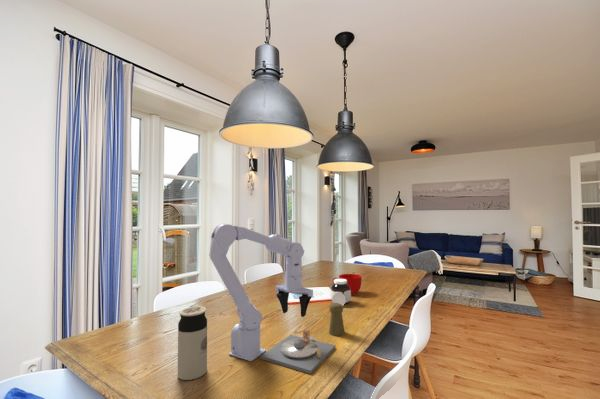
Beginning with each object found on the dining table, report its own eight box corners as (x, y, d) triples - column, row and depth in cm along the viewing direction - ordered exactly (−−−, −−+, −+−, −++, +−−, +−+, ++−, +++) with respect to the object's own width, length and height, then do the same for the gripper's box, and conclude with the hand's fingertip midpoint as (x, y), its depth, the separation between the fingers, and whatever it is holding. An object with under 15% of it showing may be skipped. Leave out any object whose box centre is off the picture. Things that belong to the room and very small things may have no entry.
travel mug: (171, 378, 79) (172, 313, 80) (191, 364, 87) (191, 304, 88) (193, 383, 76) (194, 316, 77) (212, 368, 84) (212, 307, 85)
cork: (334, 328, 112) (333, 300, 113) (347, 332, 109) (346, 303, 109) (325, 333, 108) (325, 304, 108) (339, 337, 104) (338, 307, 105)
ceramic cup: (332, 290, 170) (332, 273, 171) (361, 290, 168) (360, 274, 169) (332, 296, 158) (331, 278, 158) (362, 297, 155) (362, 278, 156)
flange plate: (273, 353, 90) (273, 339, 90) (297, 335, 103) (297, 323, 103) (306, 362, 84) (306, 347, 84) (327, 342, 97) (327, 329, 97)
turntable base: (260, 359, 89) (260, 346, 89) (290, 337, 105) (290, 327, 105) (310, 374, 80) (310, 360, 80) (335, 348, 96) (335, 336, 96)
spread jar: (346, 299, 151) (345, 277, 152) (356, 306, 140) (356, 282, 141) (325, 302, 147) (325, 279, 148) (334, 308, 136) (334, 284, 137)
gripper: (316, 275, 100) (317, 313, 100) (283, 271, 108) (283, 307, 107) (307, 279, 94) (307, 320, 93) (272, 275, 102) (272, 313, 101)
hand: (294, 314), depth 100 cm, fingers open, 7 cm apart
